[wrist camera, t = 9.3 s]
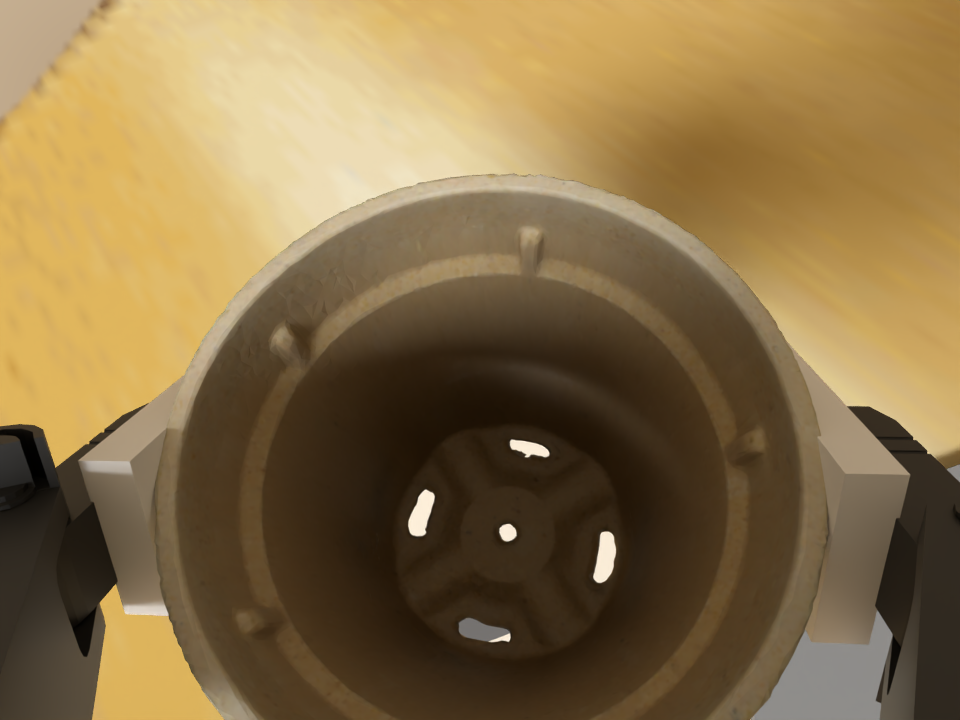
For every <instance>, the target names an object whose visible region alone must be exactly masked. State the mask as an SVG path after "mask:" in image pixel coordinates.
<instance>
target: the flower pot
mask: <svg viewBox="0 0 960 720" xmlns="http://www.w3.org/2000/svg"><path fill="white" fill-rule="evenodd" d="M819 436H821V433H820V429H819V425H818V420H817V415H816V412H815V409H814V406H813V403H812V399H811V395H810V393H809V390H808V387H807V384H806V381H805V379H804V377H803V374H802V372H801V370H800V367H799V365H798V362H797V360H796V359H795V358H794V355H793V352H792V350H791V348H790V347H789V345H788V344H787V342H786V340H785V338H784V336H783V334H782V332H781V331H780V330H779V329H778V326H777V324H776V322H775V320H774V319H773V318H772V316H771V315H770V313H769V311H768V310H767V309H766V308H765V307H764V306H763V304H762V303H761V302H760V300H759V299H758V298H757V297H756V295H755V294H754V293H753V292H752V290H751V289H750V288H749V287H748V285H747V284H746V283H745V282H744V281H743V280H742V279H741V278H740V277H739V275H738V274H737V273H736V272H735V271H734V270H733V269H732V268H730V267H729V266H728V265H727V264H726V263H725V262H724V261H723V260H722V259H720V258H719V257H718V256H717V255H716V254H715V253H714V251H713V250H711V249H710V248H709V247H708V246H707V245H705V244H704V243H703V242H701V241H700V240H699V239H698V238H697V237H696V236H695V235H693V234H691V233H689V232H687V231H686V230H684V229H683V228H681V227H680V226H678V225H677V224H675V223H674V222H672V221H671V220H669V219H668V218H666V217H664V216H662V215H661V214H660V213H658V212H656V211H654V210H653V209H648V208H646V207H644V206H643V205H641V204H639V203H637V202H635V201H634V200H630V199H628V198H626V197H625V196H619V195H617V194H613V193H611V192H608V191H606V190H605V189H598V188H594V187H591V186H588V185H585V184H583V183H580V182H577V181H571V180H561V179H557V178H554V177H547V176H543V175H536V176H533V175H530V174H529V175H527V176H519V175H516V174H508V175H495V174H488V175H472V176H461V177H451V178H445V179H439V180H434V181H429V182H422V183H418V184H416V185H414V186H412V187H404V188H400V189H397V190H394V191H391V192H388V193H385V194H383V195H380V196H378V197H376V198H372V199H368V200H367V201H366V202H363V203H362V204H359V205H356V206H355V207H351V208H349V209H348V210H346V211H343V212H340V213H339V214H337V215H335V216H333V217H331V218H330V219H328V220H326V221H324V222H323V223H321V224H320V225H318V226H317V227H316V228H314V229H312V230H310V231H309V232H307V233H306V234H305V235H304V236H302V237H301V238H299V239H298V240H296V241H294V242H293V243H292V244H291V245H289V246H288V247H287V248H286V249H285V250H283V251H282V252H281V253H279V254H278V255H277V256H276V257H275V258H273V259H272V260H271V261H270V262H269V263H267V264H266V265H265V267H264V268H262V269H261V270H260V271H259V272H258V273H257V274H256V275H254V276H253V277H252V278H251V279H250V280H249V281H248V282H247V283H246V284H245V286H244V287H243V288H242V289H241V290H240V291H239V292H238V293H237V294H236V295H235V296H234V298H233V299H232V300H231V301H230V302H229V303H228V305H227V307H226V309H225V311H224V312H223V313H222V314H221V315H220V316H219V317H218V318H217V320H216V322H215V324H214V325H213V327H212V328H211V329H210V331H209V332H208V333H207V335H206V336H205V337H204V339H203V340H202V342H201V344H200V346H199V348H198V350H197V351H196V353H195V355H194V358H193V359H192V361H191V363H190V365H189V367H188V369H187V371H186V373H185V376H184V378H183V380H182V382H181V385H180V388H179V390H178V392H177V394H176V399H175V402H174V404H173V409H172V411H171V412H170V417H169V420H168V423H167V430H166V435H165V439H164V442H163V449H162V453H161V457H160V462H159V466H158V472H157V477H156V481H155V511H156V530H155V540H154V542H155V545H156V562H157V571H158V574H159V576H160V578H161V579H160V589H161V594H162V598H163V601H164V604H165V607H166V610H167V612H168V615H169V620H170V621H171V622H172V625H173V630H174V634H175V636H176V638H177V641H178V644H179V645H180V647H181V648H182V652H183V655H184V658H185V660H186V661H187V662H188V664H189V667H190V669H191V672H192V673H193V675H194V677H195V678H196V680H197V682H198V683H199V685H200V686H201V688H202V691H203V692H204V693H205V695H206V696H207V698H208V699H209V700H210V702H211V703H212V704H213V705H214V707H215V708H216V709H217V710H218V712H219V713H220V715H221V716H222V717H223V718H224V720H750V719H751V718H752V717H753V716H754V715H755V714H756V713H757V712H758V710H759V709H760V708H761V707H762V706H763V705H764V704H765V703H766V702H767V701H768V700H769V698H770V697H771V694H772V691H773V689H774V688H775V686H776V685H777V684H778V682H779V680H780V678H781V675H782V674H783V672H784V670H785V669H786V667H787V665H788V664H789V662H790V660H791V658H792V656H793V654H794V652H795V650H796V648H797V646H798V643H799V641H800V639H801V638H802V636H803V634H804V632H805V628H806V625H807V622H808V620H809V617H810V615H811V612H812V610H813V602H814V600H815V598H816V596H817V592H818V586H819V580H820V575H821V569H822V563H823V558H824V552H825V547H826V544H827V538H826V537H827V535H828V527H827V515H828V507H827V498H826V490H825V483H824V476H823V470H822V464H821V458H820V452H819V446H818V440H817V437H819ZM511 440H516V441H526V442H531V443H536V444H539V445H542V446H543V447H545V448H546V449H547V450H548V451H549V456H547V457H543V456H538V455H535V454H533V455H530V456H529V457H525V456H526V454H525V453H523V452H522V451H518V450H512V448H511V446H510V441H511ZM424 490H428V491H429V492H432V493H433V494H434V496H435V498H434V503H433V505H432V509H431V513H430V516H429V518H428V521H427V526H426V528H425V531H426V534H425V535H423V536H414V535H412V534H411V533H410V531H409V527H408V523H409V519H410V516H411V514H412V512H413V510H414V507H415V506H416V505H417V501H418V497H419V496H420V494H421V493H422V492H423V491H424ZM506 524H511V525H512V526H513V527H514V528H515V530H516V535H517V536H516V537H515V538H514V539H513V540H511V541H504V540H503V539H502V537H501V535H500V533H499V531H500V528H501V527H502V526H503V525H506ZM602 532H610V533H612V534H613V536H614V543H615V546H616V555H615V558H614V567H613V570H612V573H611V574H610V576H609V577H608V578H607V580H606V581H604V582H602V583H598V582H596V581H595V580H594V578H593V575H594V573H595V567H596V564H597V556H598V551H599V546H600V535H601V533H602ZM466 618H472V619H475V620H477V621H479V622H481V623H483V624H485V625H488V626H493V627H498V628H504V629H507V630H508V631H509V632H510V641H509V642H508V641H503V640H501V641H498V642H488V641H482V640H477V639H472V638H467V637H465V636H463V635H462V634H460V632H459V623H460V622H461V621H462V620H464V619H466Z"/></svg>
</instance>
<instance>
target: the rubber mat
mask: <svg viewBox="0 0 960 720" xmlns="http://www.w3.org/2000/svg"><path fill="white" fill-rule="evenodd" d="M947 470H948V471H949V472H950V473H951V474H952V475H953V476H954V477H955V478H956V479H957V480H958V481H959V482H960V464H959V465H956V466H954V467H951V468H948V469H947ZM892 635H893V634H892V633H891V631H890V629H889V628H888V626H887V625H886V623H885V621H884V620H883V618H882V617H881V615H880V613H879V612H878V610H877V614H876V618H875V622H874V626H873V630H872V634H871V638H870V642H869V645H867V644H843V643H819V642H811V640H810V638H809V636H808V634H807V632H806V630H805V632H804V634H803V636H802V638H801V639H800V641H799V643H798V646H797V648H796V650H795V652H794V654H793V656H792V658H791V660H790V662H789V664H788V665H787V667H786V669H785V670H784V672H783V674H782V675H781V678H780V680H779V682H778V684H777V685H776V686H775V688H774V689H773V691H772V694H771V697H770V698H769V700H768V701H767V702H766V703H765V704H764V705H763V706H762V707H761V708H760V709H759V710H758V712H757V713H756V714H755V715H754V716H753V717H752V718H751V720H880V711H881V703H879V702H877V701H876V697H877V693H878V689H879V685H880V681H881V678H882V674H883V670H884V666H885V662H886V658H887V655H888V651H889V647H890V643H891V639H892Z"/></svg>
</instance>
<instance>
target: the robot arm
mask: <svg viewBox="0 0 960 720" xmlns="http://www.w3.org/2000/svg"><path fill="white" fill-rule="evenodd" d="M786 342H787V341H786ZM787 344H788V345H789V343H788V342H787ZM789 347H790V348H791V350H792V352H793V355H794V358H795V359H796V360H797V362H798V365H799V367H800V370H801V372H802V374H803V377H804V379H805V381H806V384H807V387H808V390H809V393H810V395H811V399H812V403H813V406H814V409H815V412H816V415H817V420H818V425H819V429H820V433H821V436H819V437H817V440H818V446H819V452H820V458H821V464H822V470H823V476H824V483H825V490H826V498H827V507H828V515H827V527H828V535H827V537H826V538H827V544H826V547H825V552H824V558H823V563H822V569H821V575H820V580H819V586H818V592H817V596H816V598H815V600H814V602H813V610H812V612H811V615H810V617H809V620H808V622H807V625H806V628H805V630H806V632H807V634H808V636H809V638H810V640H811V642H819V643H843V644H867V645H869V642H870V638H871V634H872V630H873V626H874V622H875V618H876V614H877V610H878V612H879V613H880V615H881V617H882V618H883V620H884V621H885V623H886V625H887V626H888V628H889V629H890V631H891V633H892V634H893V635H892V639H891V643H890V647H889V651H888V655H887V658H886V662H885V666H884V670H883V674H882V678H881V681H880V685H879V689H878V693H877V697H876V701H877V702H879V703H881V711H880V720H960V482H959V481H958V480H957V479H956V478H955V477H954V476H953V475H952V474H951V473H950V472H949V471H948V470H947V469H946V468H945V467H944V466H943V465H941V464H940V463H939V462H938V461H937V460H936V459H935V458H934V457H933V456H932V455H931V454H927V450H926V449H925V448H924V447H923V446H922V445H921V444H920V443H919V442H918V441H917V440H913V437H912V436H911V435H910V434H909V433H908V432H907V431H906V430H905V429H904V428H903V427H902V426H901V425H900V424H899V423H898V422H897V421H896V420H894V419H892V418H890V417H888V416H886V415H884V414H882V413H880V412H878V411H877V410H875V409H873V408H871V407H861V406H846V405H845V404H844V403H843V402H842V401H841V399H840V398H839V397H838V396H837V395H836V394H835V393H834V392H833V391H832V390H831V389H830V388H829V387H828V385H827V384H826V383H825V382H824V381H823V380H822V379H821V378H820V377H819V376H818V375H817V374H816V373H815V371H814V370H813V369H812V368H811V367H810V366H809V365H808V364H807V363H806V362H805V361H804V360H803V359H802V357H801V356H800V355H799V354H798V353H797V352H796V351H795V350H794V349H793V348H792V347H791V346H790V345H789ZM184 376H185V375H184ZM184 376H182V377H181V378H180V379H179V380H177V381H176V382H175V383H174V384H172V385H171V386H170V387H169V388H167V389H166V390H165V391H164V392H163V393H161V394H160V395H159V396H158V397H156V398H155V399H154V400H153V401H151V402H150V403H148V404H146V405H144V406H141V407H139V408H137V409H135V410H133V411H131V412H129V413H127V414H125V415H122V416H121V417H120V418H119V419H117V420H116V421H115V422H114V423H112V424H111V425H110V426H108V427H107V428H106V429H105V430H104V433H100V434H98V435H97V436H96V437H94V438H93V439H92V440H91V441H89V442H90V443H89V444H86V445H84V446H83V447H82V448H80V449H79V450H78V451H77V452H75V453H74V454H73V455H71V456H70V457H69V458H68V459H66V460H65V461H64V462H63V463H61V464H60V465H59V466H57V467H56V468H55V465H54V462H53V459H52V456H51V453H50V450H49V447H48V444H47V440H46V437H45V434H44V431H43V429H41V428H39V427H37V426H35V425H22V424H18V425H9V426H0V720H92V715H93V708H94V702H95V695H96V688H97V681H98V674H99V668H100V661H101V654H102V647H103V640H104V634H105V627H106V625H105V620H104V616H103V613H102V610H101V606H100V601H101V600H102V599H103V598H104V597H105V596H106V594H107V593H108V592H109V591H110V590H111V589H112V587H113V586H114V585H115V584H116V585H117V588H118V592H119V595H120V598H121V601H122V605H123V608H124V611H125V614H137V615H162V616H169V615H168V612H167V610H166V607H165V604H164V601H163V598H162V594H161V589H160V579H161V578H160V576H159V574H158V571H157V562H156V545H155V542H154V540H155V530H156V511H155V481H156V477H157V472H158V466H159V462H160V457H161V453H162V449H163V442H164V439H165V435H166V430H167V423H168V420H169V417H170V412H171V411H172V409H173V404H174V402H175V399H176V394H177V392H178V390H179V388H180V385H181V382H182V380H183V378H184Z"/></svg>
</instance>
